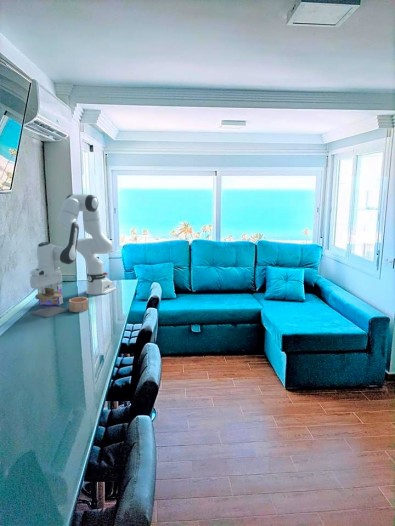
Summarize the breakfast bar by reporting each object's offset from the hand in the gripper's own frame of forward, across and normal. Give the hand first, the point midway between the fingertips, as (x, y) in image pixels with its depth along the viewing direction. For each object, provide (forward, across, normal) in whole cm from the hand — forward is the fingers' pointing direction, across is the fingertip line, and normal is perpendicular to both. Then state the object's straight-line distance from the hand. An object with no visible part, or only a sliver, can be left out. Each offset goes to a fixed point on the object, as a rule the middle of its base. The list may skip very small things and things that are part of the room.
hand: (47, 292), depth 218 cm
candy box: (+12, -11, -12) cm, 21 cm away
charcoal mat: (+12, 0, 0) cm, 12 cm away
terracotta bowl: (+12, -13, +11) cm, 21 cm away
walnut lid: (+2, 0, 0) cm, 2 cm away
